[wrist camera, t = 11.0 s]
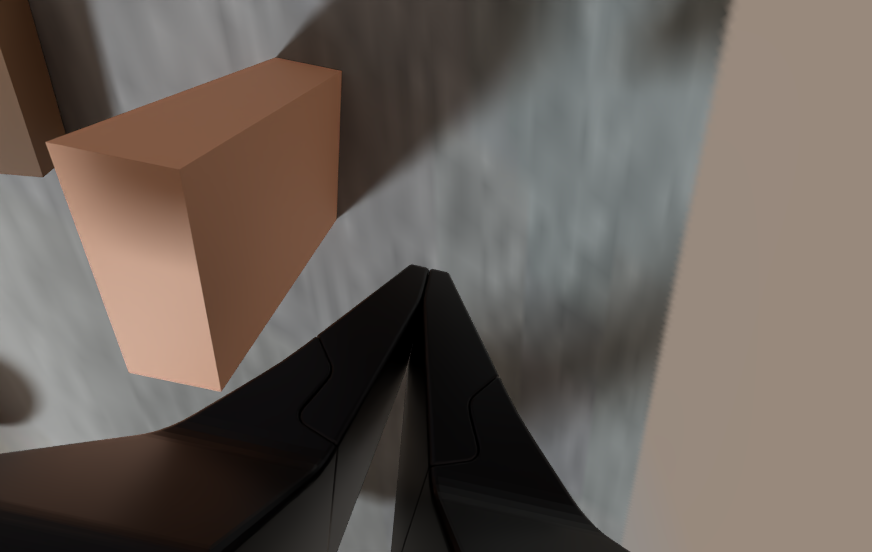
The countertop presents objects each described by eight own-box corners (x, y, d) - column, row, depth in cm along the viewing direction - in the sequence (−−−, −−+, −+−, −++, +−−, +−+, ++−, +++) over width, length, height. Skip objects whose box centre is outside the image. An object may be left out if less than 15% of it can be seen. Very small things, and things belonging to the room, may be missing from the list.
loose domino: (342, 71, 13) (179, 169, 6) (336, 218, 16) (221, 391, 9) (275, 57, 13) (45, 142, 6) (282, 208, 16) (129, 372, 9)
